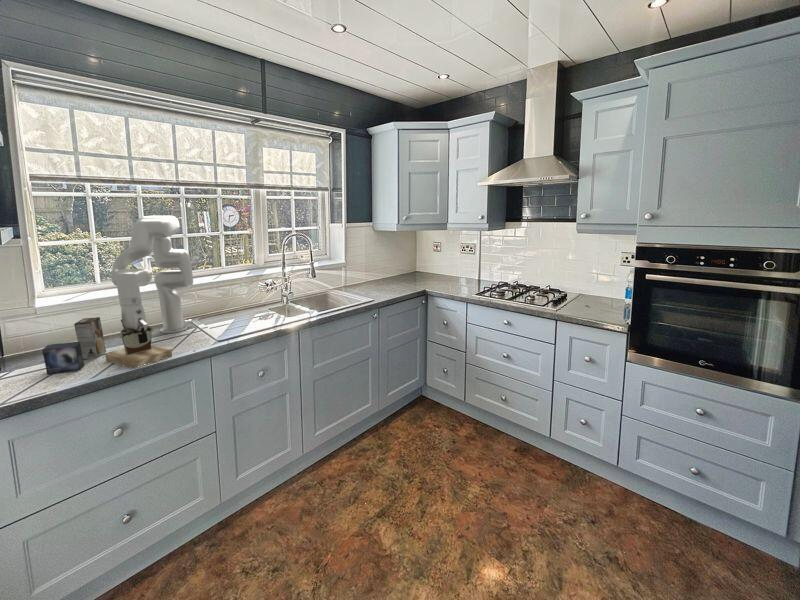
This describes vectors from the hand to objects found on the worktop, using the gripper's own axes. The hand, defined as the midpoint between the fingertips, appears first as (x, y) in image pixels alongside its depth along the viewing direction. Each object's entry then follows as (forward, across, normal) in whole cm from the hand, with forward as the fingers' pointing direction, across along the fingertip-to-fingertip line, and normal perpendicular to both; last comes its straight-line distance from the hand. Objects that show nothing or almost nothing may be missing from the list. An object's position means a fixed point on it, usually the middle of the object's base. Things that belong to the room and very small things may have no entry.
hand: (136, 340), depth 169 cm
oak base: (+8, 0, 0) cm, 8 cm away
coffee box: (+8, +22, +7) cm, 24 cm away
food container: (+5, +2, 0) cm, 5 cm away
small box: (+8, +13, +21) cm, 26 cm away
